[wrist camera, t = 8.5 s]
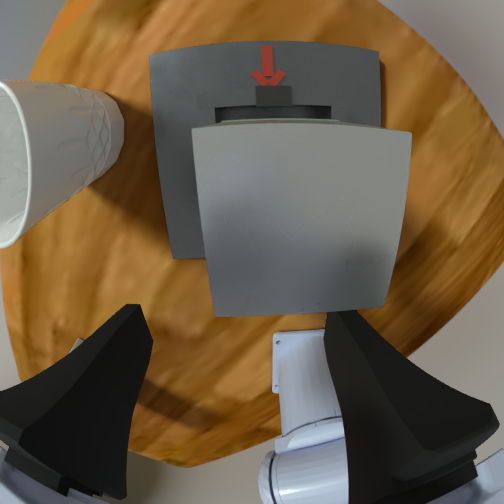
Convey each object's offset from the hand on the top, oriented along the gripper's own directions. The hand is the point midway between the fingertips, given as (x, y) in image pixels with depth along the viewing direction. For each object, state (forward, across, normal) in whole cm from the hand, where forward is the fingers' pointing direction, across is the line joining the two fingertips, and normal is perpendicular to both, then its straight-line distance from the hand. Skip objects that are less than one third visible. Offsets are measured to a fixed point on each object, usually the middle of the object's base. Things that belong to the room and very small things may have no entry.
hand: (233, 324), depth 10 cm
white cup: (+10, +11, -8) cm, 17 cm away
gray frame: (+10, -2, -5) cm, 11 cm away
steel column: (+4, -2, -5) cm, 7 cm away
